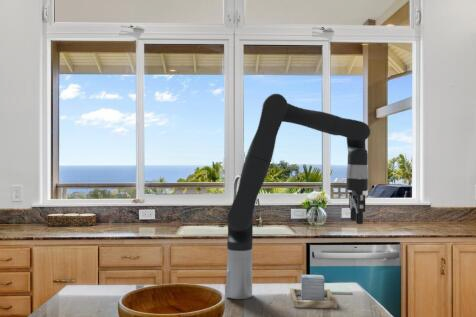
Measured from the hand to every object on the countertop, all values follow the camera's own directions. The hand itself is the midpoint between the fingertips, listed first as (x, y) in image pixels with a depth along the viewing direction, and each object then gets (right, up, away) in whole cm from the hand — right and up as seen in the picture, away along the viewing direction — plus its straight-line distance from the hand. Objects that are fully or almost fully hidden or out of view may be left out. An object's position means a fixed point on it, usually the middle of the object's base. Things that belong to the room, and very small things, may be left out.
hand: (356, 222), depth 150 cm
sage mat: (-6, -28, +10) cm, 30 cm away
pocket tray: (-17, -27, -3) cm, 32 cm away
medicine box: (-17, -28, -3) cm, 32 cm away
